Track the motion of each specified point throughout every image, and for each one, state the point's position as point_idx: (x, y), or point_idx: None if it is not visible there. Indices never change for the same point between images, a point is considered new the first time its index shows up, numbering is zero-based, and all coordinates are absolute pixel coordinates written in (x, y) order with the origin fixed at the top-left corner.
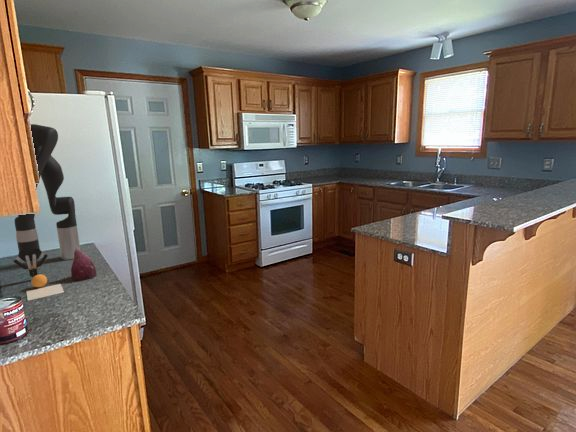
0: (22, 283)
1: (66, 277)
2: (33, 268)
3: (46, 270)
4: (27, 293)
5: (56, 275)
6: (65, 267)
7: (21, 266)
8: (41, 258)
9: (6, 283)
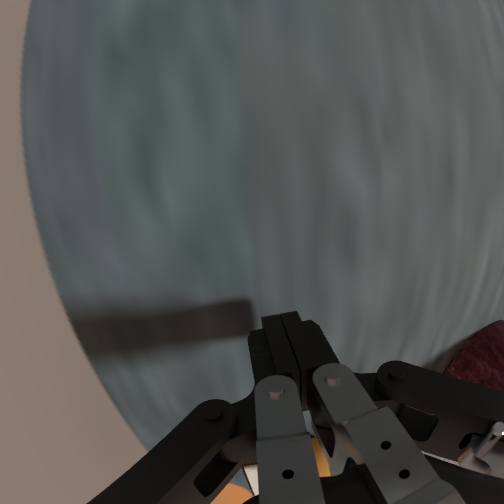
0: (190, 354)
1: (435, 352)
2: (310, 409)
3: (360, 47)
4: (252, 480)
5: (417, 282)
6: (471, 92)
7: (195, 480)
8: (464, 424)
9: (63, 280)
